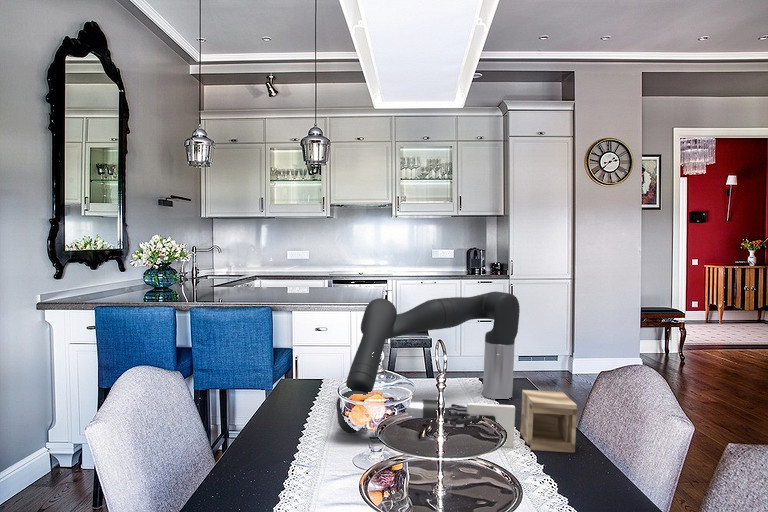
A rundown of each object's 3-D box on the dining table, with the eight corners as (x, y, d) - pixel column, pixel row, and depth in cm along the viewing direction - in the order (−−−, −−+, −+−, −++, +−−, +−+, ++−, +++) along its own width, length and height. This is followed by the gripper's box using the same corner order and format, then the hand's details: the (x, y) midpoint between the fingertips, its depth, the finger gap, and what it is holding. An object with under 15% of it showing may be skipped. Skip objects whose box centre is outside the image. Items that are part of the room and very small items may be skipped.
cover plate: (465, 442, 121) (467, 402, 120) (512, 444, 120) (513, 405, 120) (466, 444, 119) (467, 404, 119) (513, 447, 118) (515, 407, 118)
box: (520, 432, 129) (522, 389, 128) (560, 435, 128) (562, 391, 128) (531, 449, 117) (533, 402, 117) (574, 452, 117) (576, 405, 117)
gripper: (419, 421, 127) (489, 425, 126) (420, 442, 113) (499, 446, 113) (420, 391, 127) (490, 395, 126) (422, 408, 113) (500, 412, 112)
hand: (494, 419), depth 119 cm, fingers closed on cover plate, 1 cm apart
